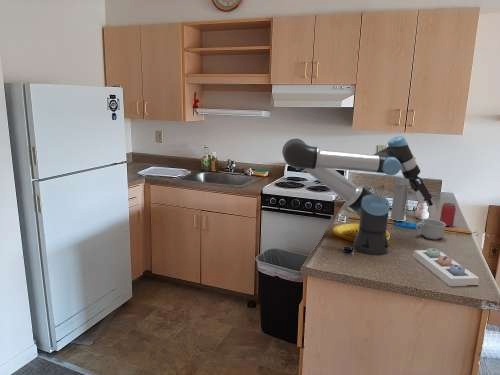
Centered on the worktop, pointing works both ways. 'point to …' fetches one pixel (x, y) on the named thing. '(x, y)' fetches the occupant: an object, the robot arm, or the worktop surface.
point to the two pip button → (457, 270)
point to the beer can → (448, 214)
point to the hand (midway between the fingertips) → (428, 206)
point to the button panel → (445, 270)
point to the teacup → (431, 228)
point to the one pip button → (433, 253)
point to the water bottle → (400, 198)
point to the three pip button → (444, 261)
